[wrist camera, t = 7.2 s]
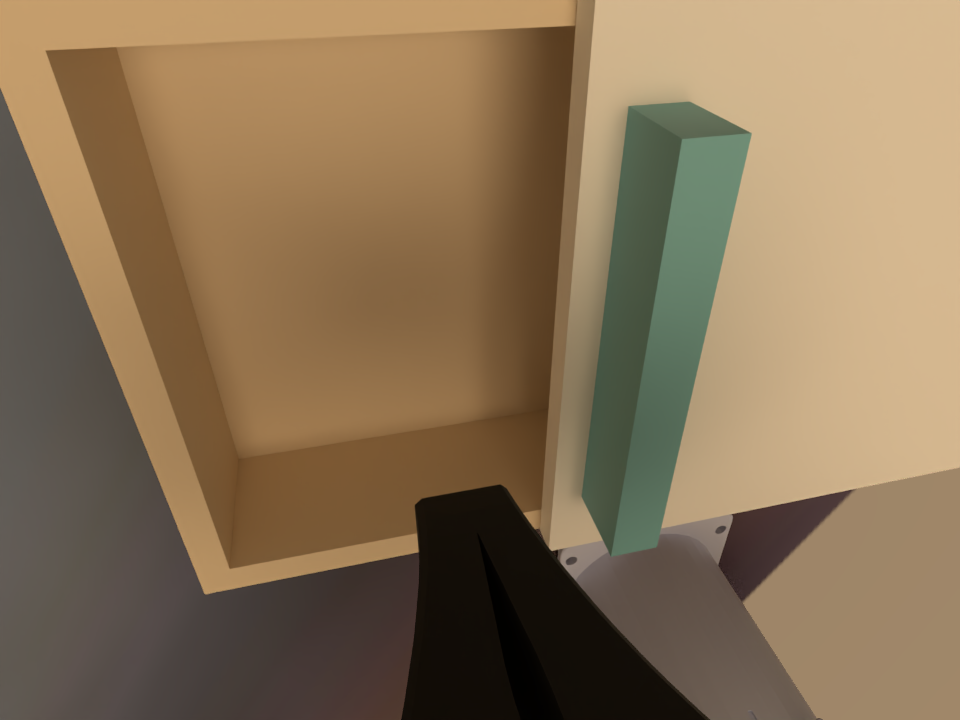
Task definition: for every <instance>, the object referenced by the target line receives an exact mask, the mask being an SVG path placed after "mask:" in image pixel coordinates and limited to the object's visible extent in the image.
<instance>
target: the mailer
mask: <svg viewBox="0 0 960 720" xmlns="http://www.w3.org/2000/svg"><path fill="white" fill-rule="evenodd" d="M576 14H577V0H0V88H1V91H2V93H3V95H4V98H5V100H6V103H7V105H8V108H9V110H10V113H11V115H12V118H13V120H14V123H15V125H16V128H17V130H18V133H19V135H20V138H21V140H22V143H23V145H24V147H25V150H26V152H27V155H28V157H29V160H30V162H31V165H32V167H33V170H34V172H35V175H36V177H37V180H38V182H39V185H40V187H41V190H42V192H43V195H44V197H45V199H46V202H47V204H48V207H49V209H50V212H51V214H52V217H53V219H54V222H55V224H56V227H57V229H58V232H59V234H60V237H61V239H62V242H63V244H64V247H65V249H66V252H67V254H68V256H69V259H70V261H71V264H72V266H73V269H74V271H75V274H76V276H77V279H78V281H79V284H80V286H81V289H82V291H83V294H84V296H85V299H86V301H87V304H88V306H89V308H90V311H91V313H92V316H93V318H94V321H95V323H96V326H97V328H98V331H99V333H100V336H101V338H102V341H103V343H104V346H105V348H106V351H107V353H108V356H109V358H110V360H111V363H112V365H113V368H114V370H115V373H116V375H117V378H118V380H119V383H120V385H121V388H122V390H123V393H124V395H125V398H126V400H127V403H128V405H129V408H130V410H131V412H132V415H133V417H134V420H135V422H136V425H137V427H138V430H139V432H140V435H141V437H142V440H143V442H144V445H145V447H146V450H147V452H148V455H149V457H150V460H151V462H152V465H153V467H154V469H155V472H156V474H157V477H158V479H159V482H160V484H161V487H162V489H163V492H164V494H165V497H166V499H167V502H168V504H169V507H170V509H171V512H172V514H173V517H174V519H175V521H176V524H177V526H178V529H179V531H180V534H181V536H182V539H183V541H184V544H185V546H186V549H187V551H188V554H189V556H190V559H191V561H192V564H193V566H194V569H195V571H196V573H197V576H198V578H199V581H200V583H201V586H202V588H203V591H204V593H205V594H209V593H214V592H219V591H224V590H229V589H234V588H239V587H244V586H249V585H255V584H260V583H265V582H270V581H275V580H280V579H285V578H290V577H295V576H300V575H305V574H310V573H315V572H321V571H326V570H331V569H336V568H341V567H346V566H351V565H356V564H361V563H366V562H371V561H376V560H381V559H387V558H392V557H397V556H402V555H407V554H412V553H417V552H419V550H418V538H417V527H416V516H415V504H416V503H417V502H418V501H419V500H421V499H422V498H427V497H432V496H438V495H443V494H449V493H455V492H460V491H466V490H471V489H477V488H482V487H488V486H493V485H499V484H501V485H502V486H504V487H505V488H507V489H508V491H509V493H510V494H511V496H512V497H513V499H514V500H515V502H516V503H517V505H518V506H519V508H520V509H521V511H522V512H523V514H524V515H525V516H526V518H527V519H528V521H529V522H530V523H531V525H532V526H533V527H534V529H539V528H540V522H541V508H542V494H543V480H544V466H545V452H546V438H547V423H548V409H549V395H550V381H551V367H552V353H553V339H554V325H555V311H556V297H557V282H558V268H559V254H560V240H561V226H562V212H563V198H564V184H565V170H566V155H567V141H568V127H569V113H570V99H571V85H572V71H573V57H574V43H575V29H576Z"/></svg>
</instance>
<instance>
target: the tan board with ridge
mask: <svg viewBox="0 0 960 720" xmlns="http://www.w3.org/2000/svg"><path fill="white" fill-rule="evenodd" d="M959 467H960V0H577V14H576V29H575V43H574V57H573V71H572V85H571V99H570V113H569V127H568V141H567V155H566V170H565V184H564V198H563V212H562V226H561V240H560V254H559V268H558V282H557V297H556V311H555V325H554V339H553V353H552V367H551V381H550V395H549V409H548V423H547V438H546V452H545V466H544V480H543V494H542V508H541V522H540V531H541V534H542V536H543V539H544V541H545V543H546V545H547V546H548V547H549V549H550V550H551V551H554V550H558V549H563V548H568V547H573V546H578V545H583V544H588V543H593V542H598V541H602V540H603V542H604V544H605V546H606V548H607V550H608V552H609V554H610V556H611V557H613V556H618V555H622V554H627V553H632V552H637V551H642V550H646V549H651V548H656V547H657V544H658V540H659V536H660V531H661V528H666V527H671V526H676V525H681V524H686V523H690V522H695V521H700V520H705V519H710V518H715V517H720V516H725V515H730V514H734V513H739V512H744V511H749V510H754V509H759V508H764V507H769V506H774V505H779V504H783V503H788V502H793V501H798V500H803V499H808V498H813V497H818V496H823V495H827V494H832V493H837V492H842V491H847V490H852V489H857V488H862V487H867V486H871V485H876V484H881V483H886V482H891V481H895V480H901V479H906V478H910V477H915V476H920V475H925V474H930V473H934V472H940V471H945V470H950V469H955V468H959Z"/></svg>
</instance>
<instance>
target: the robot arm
mask: <svg viewBox="0 0 960 720" xmlns="http://www.w3.org/2000/svg"><path fill="white" fill-rule="evenodd" d="M415 516H416V527H417V538H418V550H419V561H420V563H419V588H418V600H417V612H416V623H415V634H414V642H413V649H412V656H411V663H410V669H409V676H408V683H407V689H406V696H405V702H404V708H403V714H402V719H401V720H822V719H820V718H818V719H817V718H816V717H815V715H814V714H813V712H812V710H811V709H810V707H809V706H808V704H807V703H806V701H805V700H804V698H803V696H802V695H801V693H800V692H799V690H798V689H797V687H796V686H795V684H794V683H793V681H792V679H791V678H790V676H789V675H788V673H787V672H786V670H785V669H784V667H783V665H782V664H781V662H780V661H779V659H778V658H777V656H776V655H775V653H774V651H773V650H772V648H771V647H770V645H769V644H768V642H767V641H766V639H765V637H764V636H763V635H762V633H761V632H760V630H759V628H758V627H757V625H756V624H755V622H754V620H753V619H752V617H751V616H750V614H749V613H748V611H747V610H746V608H745V606H744V605H743V603H742V602H741V600H740V599H739V597H738V596H737V594H736V593H735V591H734V589H733V588H732V586H731V585H730V583H729V582H728V580H727V579H726V577H725V575H724V574H723V572H722V571H721V569H720V568H719V566H718V564H719V561H720V557H721V554H722V551H723V548H724V545H725V542H726V539H727V536H728V532H729V529H730V526H731V523H732V520H733V516H732V514H730V515H725V516H720V517H715V518H710V519H705V520H700V521H695V522H690V523H686V524H681V525H676V526H671V527H666V528H661V531H660V536H659V540H658V544H657V547H656V548H651V549H646V550H642V551H637V552H632V553H627V554H622V555H618V556H613V557H611V556H610V554H609V552H608V550H607V548H606V546H605V544H604V542H603V540H602V541H598V542H593V543H588V544H583V545H578V546H573V547H568V548H563V549H558V558H556V556H555V555H554V554H553V553H552V551H551V550H550V549H549V547H548V546H547V545H546V543H545V542H544V541H543V540H542V538H541V537H540V536H539V534H538V533H537V532H536V530H535V529H534V527H533V526H532V525H531V523H530V522H529V521H528V519H527V518H526V516H525V515H524V514H523V512H522V511H521V509H520V508H519V506H518V505H517V503H516V502H515V500H514V499H513V497H512V496H511V494H510V493H509V491H508V489H507V488H505V487H504V486H502V485H501V484H499V485H493V486H488V487H482V488H477V489H471V490H466V491H460V492H455V493H449V494H443V495H438V496H432V497H427V498H422V499H421V500H419V501H418V502H417V503H416V504H415Z"/></svg>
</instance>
